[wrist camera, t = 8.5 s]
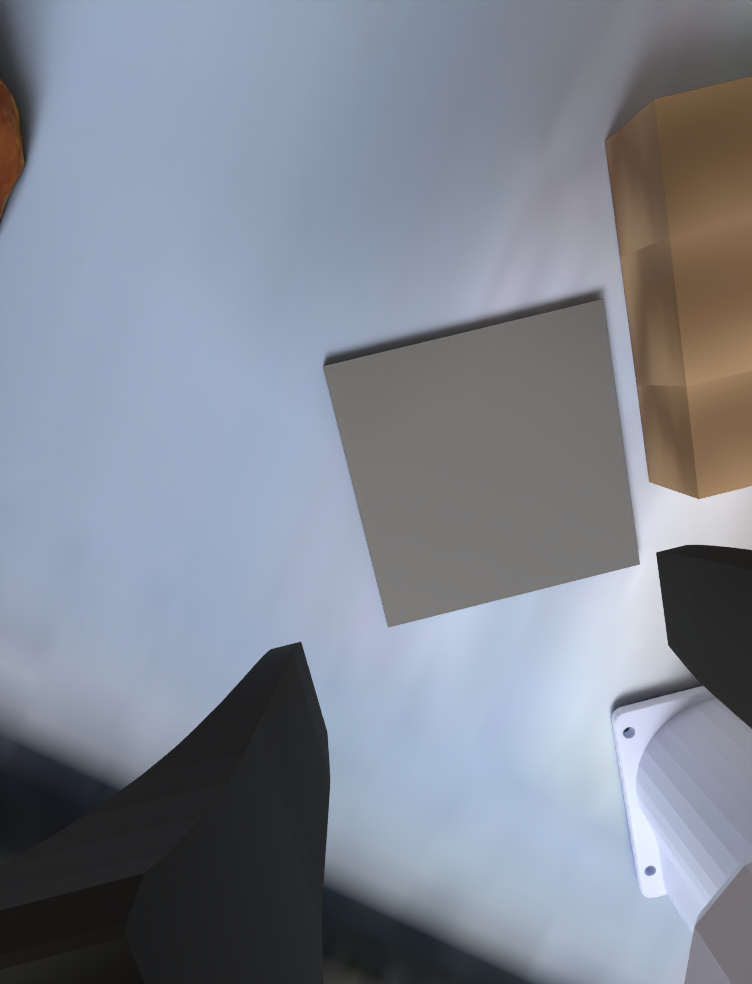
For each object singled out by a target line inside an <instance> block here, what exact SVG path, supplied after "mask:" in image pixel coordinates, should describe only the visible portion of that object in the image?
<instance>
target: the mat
mask: <svg viewBox="0 0 752 984" xmlns="http://www.w3.org/2000/svg"><path fill="white" fill-rule="evenodd" d="M323 369H324V373H325V377H326V381H327V385H328V389H329V393H330V397H331V401H332V405H333V409H334V413H335V417H336V421H337V425H338V429H339V433H340V437H341V441H342V445H343V449H344V453H345V457H346V461H347V465H348V469H349V473H350V477H351V481H352V485H353V489H354V493H355V497H356V501H357V505H358V509H359V513H360V517H361V521H362V525H363V529H364V533H365V537H366V541H367V545H368V549H369V553H370V557H371V561H372V565H373V569H374V573H375V577H376V581H377V585H378V589H379V593H380V597H381V601H382V605H383V609H384V613H385V617H386V621H387V625H388V627H392V626H396V625H400V624H404V623H408V622H412V621H416V620H420V619H424V618H428V617H432V616H436V615H440V614H444V613H448V612H452V611H456V610H460V609H464V608H468V607H472V606H476V605H480V604H484V603H488V602H492V601H496V600H500V599H504V598H508V597H512V596H515V595H519V594H523V593H527V592H531V591H535V590H539V589H543V588H547V587H551V586H555V585H559V584H563V583H567V582H571V581H575V580H579V579H583V578H587V577H591V576H595V575H599V574H603V573H607V572H611V571H615V570H619V569H623V568H627V567H631V566H635V565H639V564H640V562H639V554H638V547H637V540H636V533H635V526H634V518H633V511H632V504H631V497H630V490H629V482H628V475H627V468H626V461H625V454H624V446H623V439H622V432H621V425H620V418H619V410H618V403H617V396H616V389H615V382H614V374H613V367H612V360H611V353H610V346H609V338H608V331H607V324H606V317H605V310H604V303H603V299H601V300H596V301H592V302H588V303H584V304H580V305H576V306H571V307H567V308H563V309H559V310H555V311H551V312H547V313H542V314H538V315H534V316H530V317H526V318H522V319H517V320H513V321H509V322H505V323H501V324H497V325H493V326H488V327H484V328H480V329H476V330H472V331H468V332H463V333H459V334H455V335H451V336H447V337H443V338H438V339H434V340H430V341H426V342H422V343H418V344H414V345H409V346H405V347H401V348H397V349H393V350H389V351H384V352H380V353H376V354H372V355H368V356H364V357H360V358H355V359H351V360H347V361H343V362H339V363H335V364H330V365H326V366H323Z"/></svg>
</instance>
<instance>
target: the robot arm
mask: <svg viewBox="0 0 752 984" xmlns="http://www.w3.org/2000/svg"><path fill="white" fill-rule="evenodd" d="M656 555H657V563H658V570H659V578H660V585H661V593H662V601H663V608H664V616H665V623H666V631H667V639H668V646H669V647H670V648H671V649H672V650H673V652H674V653H675V654H676V655H677V656H678V658H679V659H680V660H681V661H682V663H683V664H684V665H685V666H686V667H687V668H688V670H689V671H690V672H691V673H692V674H693V675H694V676H695V677H696V679H697V680H698V681H699V682H700V683H701V684H702V685H703V686H700V687H696V688H692V689H688V690H684V691H681V692H677V693H673V694H669V695H665V696H661V697H657V698H653V699H649V700H645V701H642V702H638V703H634V704H630V705H626V706H622V707H620V708H617V709H616V710H615V711H614V712H613V714H612V726H613V732H614V739H615V745H616V751H617V757H618V763H619V770H620V776H621V782H622V788H623V795H624V801H625V807H626V813H627V819H628V826H629V832H630V838H631V844H632V850H633V857H634V863H635V869H636V875H637V881H638V886H639V888H640V890H641V892H642V893H643V895H645V896H646V897H649V898H652V897H657V896H661V895H665V894H668V896H669V898H670V899H671V901H672V902H673V904H674V905H675V907H676V909H677V910H678V912H679V913H680V915H681V916H682V918H683V920H684V921H685V923H686V924H687V926H688V927H689V929H690V930H691V932H692V934H693V938H692V943H691V949H690V955H689V960H688V966H687V972H686V977H685V983H684V984H752V550H747V549H739V548H730V547H720V546H709V545H685V546H681V547H677V548H673V549H669V550H665V551H661V552H657V553H656ZM627 727H630V729H629V730H628V731H627V732H623V731H624V730H625V729H626V728H627ZM329 793H330V766H329V750H328V736H327V730H326V726H325V723H324V719H323V716H322V713H321V709H320V706H319V702H318V699H317V695H316V692H315V688H314V685H313V681H312V678H311V674H310V671H309V667H308V664H307V661H306V657H305V654H304V650H303V647H302V643H301V642H298V643H294V644H290V645H286V646H282V647H278V648H274V649H271V650H269V651H268V652H267V653H266V654H265V655H264V656H263V657H262V658H261V659H260V660H259V661H258V662H257V663H256V664H255V666H254V667H253V668H252V669H251V670H250V671H249V672H248V673H247V675H246V676H245V677H244V678H243V679H242V680H241V681H240V682H239V683H238V685H237V686H236V687H235V688H234V689H233V690H232V691H231V692H230V693H229V694H228V696H227V697H226V698H225V699H224V700H223V701H222V702H221V703H220V704H219V705H218V706H217V707H216V708H215V709H214V710H213V711H212V712H211V713H210V714H209V715H208V716H207V717H206V718H205V719H204V720H203V721H202V722H201V723H200V724H199V725H198V726H197V727H196V728H195V729H194V730H193V731H192V732H191V733H190V734H189V735H188V736H187V737H186V738H185V739H184V740H183V741H182V742H180V743H179V744H178V745H177V746H176V747H175V748H174V749H173V750H171V751H170V752H169V753H168V754H167V755H166V756H164V757H163V758H162V759H161V760H159V761H158V762H157V763H156V764H155V765H153V766H152V767H151V768H150V769H149V770H147V771H146V772H145V773H144V774H142V775H141V776H140V777H138V778H137V779H136V780H135V781H133V782H132V783H130V784H129V785H127V786H126V787H125V788H123V789H122V790H120V791H119V792H118V793H116V794H115V795H113V796H112V797H111V798H109V799H108V800H106V801H105V802H103V803H102V804H101V805H99V806H98V807H96V808H95V809H94V810H92V811H91V812H89V813H88V814H87V815H85V816H83V817H82V818H80V819H79V820H77V821H76V822H74V823H73V824H71V825H69V826H68V827H66V828H65V829H63V830H61V831H60V832H58V833H57V834H55V835H53V836H52V837H50V838H49V839H47V840H45V841H43V842H42V843H40V844H38V845H37V846H35V847H33V848H31V849H30V850H28V851H26V852H25V853H23V854H21V855H20V856H18V857H16V858H14V859H12V860H11V861H9V862H7V863H5V864H3V865H2V866H0V984H323V959H322V896H323V882H324V867H325V853H326V839H327V824H328V809H329ZM648 866H649V867H648Z"/></svg>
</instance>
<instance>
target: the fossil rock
mask: <svg viewBox="0 0 752 984" xmlns="http://www.w3.org/2000/svg"><path fill="white" fill-rule="evenodd" d="M24 166H25V162H24V156H23V140H22V135H21V129H20V120H19V112H18V108H17V106H16V103H15V101H14V98H13V96H12V93H11V91H10V90H9V88H8V87H7V86H6V85H5V84H4V82H3V81H2V80H1V79H0V220H1V217H2V213H3V210H4V207H5V203H6V201H7V199H8V197H9V195H10V193H11V191H12V189H13V187H14V184H15V182H16V181H17V179H18V177H19V176H20V174H21V172H22V170H23V168H24Z"/></svg>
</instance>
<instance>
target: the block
mask: <svg viewBox="0 0 752 984" xmlns="http://www.w3.org/2000/svg"><path fill="white" fill-rule="evenodd" d="M605 145H606V153H607V160H608V168H609V176H610V183H611V191H612V199H613V206H614V214H615V222H616V229H617V237H618V245H619V252H620V260H621V268H622V275H623V283H624V291H625V298H626V306H627V314H628V321H629V329H630V337H631V344H632V352H633V360H634V367H635V375H636V383H637V390H638V398H639V406H640V413H641V421H642V428H643V436H644V444H645V451H646V459H647V467H648V474H649V482H651V483H654V484H657V485H660V486H663V487H666V488H668V489H671V490H674V491H677V492H680V493H683V494H686V495H689V496H692V497H694V498H697V499H701V498H705V497H709V496H713V495H717V494H721V493H725V492H729V491H733V490H737V489H741V488H745V487H749V486H752V76H750V77H745V78H741V79H737V80H733V81H728V82H724V83H720V84H715V85H711V86H707V87H703V88H698V89H694V90H690V91H685V92H681V93H677V94H673V95H668V96H664V97H660V98H655V99H653V100H652V101H651V102H650V103H649V104H648V105H646V106H645V107H644V108H643V109H642V110H641V111H639V112H638V113H637V114H636V115H635V116H634V117H632V118H631V119H630V120H629V121H628V122H627V123H625V124H624V125H623V126H622V127H621V128H620V129H619V130H617V131H616V132H615V133H614V134H613V135H612V136H610V137H609V138H608V139H607V140H606V141H605Z"/></svg>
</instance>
